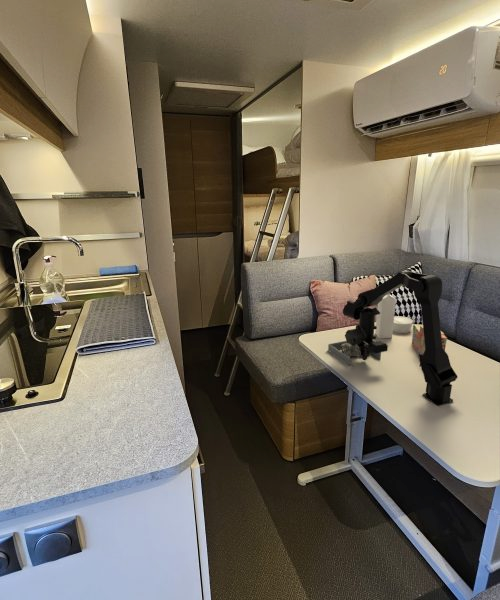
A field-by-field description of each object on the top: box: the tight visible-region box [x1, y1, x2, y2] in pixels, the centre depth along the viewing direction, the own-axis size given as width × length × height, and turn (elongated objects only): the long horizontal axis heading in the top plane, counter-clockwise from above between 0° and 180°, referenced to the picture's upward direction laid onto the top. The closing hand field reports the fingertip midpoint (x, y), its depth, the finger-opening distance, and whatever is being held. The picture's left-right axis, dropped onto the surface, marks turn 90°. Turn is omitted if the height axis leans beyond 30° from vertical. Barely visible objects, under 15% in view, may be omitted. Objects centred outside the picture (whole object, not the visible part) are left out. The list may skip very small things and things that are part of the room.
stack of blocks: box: [411, 323, 448, 355], centre depth 141 cm, size 21×6×12 cm, turn 169°
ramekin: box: [393, 315, 414, 334], centre depth 168 cm, size 11×11×5 cm
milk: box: [374, 293, 397, 339], centre depth 159 cm, size 6×6×22 cm
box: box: [327, 340, 382, 366], centre depth 143 cm, size 15×15×3 cm
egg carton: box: [341, 343, 361, 358], centre depth 145 cm, size 11×8×4 cm
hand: (364, 360), depth 137 cm, fingers closed
